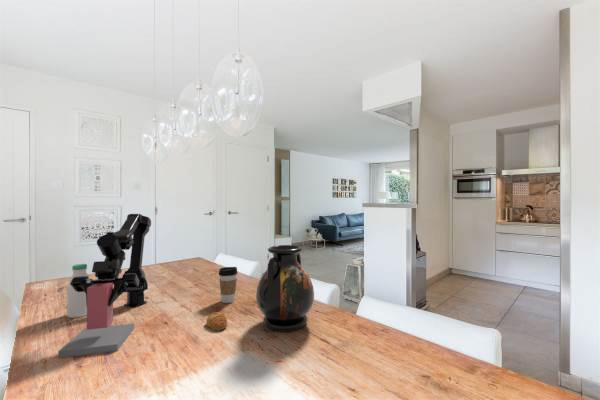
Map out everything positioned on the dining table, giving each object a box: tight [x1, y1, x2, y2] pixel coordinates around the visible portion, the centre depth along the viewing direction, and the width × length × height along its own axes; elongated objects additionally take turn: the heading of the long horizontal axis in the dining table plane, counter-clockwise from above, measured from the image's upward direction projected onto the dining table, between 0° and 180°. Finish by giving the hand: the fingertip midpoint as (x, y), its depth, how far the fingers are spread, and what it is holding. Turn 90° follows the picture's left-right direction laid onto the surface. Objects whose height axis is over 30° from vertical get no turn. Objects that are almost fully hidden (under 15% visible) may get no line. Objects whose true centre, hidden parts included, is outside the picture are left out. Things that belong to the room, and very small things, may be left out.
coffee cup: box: [218, 266, 238, 304], centre depth 126 cm, size 8×8×15 cm
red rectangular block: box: [86, 283, 114, 330], centre depth 89 cm, size 4×6×13 cm
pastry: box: [206, 311, 228, 331], centre depth 100 cm, size 9×7×4 cm
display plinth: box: [58, 323, 135, 359], centre depth 89 cm, size 15×15×2 cm
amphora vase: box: [255, 244, 315, 332], centre depth 102 cm, size 22×22×28 cm
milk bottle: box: [66, 263, 89, 319], centre depth 111 cm, size 8×8×20 cm
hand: (98, 306), depth 87 cm, fingers closed on red rectangular block, 5 cm apart
